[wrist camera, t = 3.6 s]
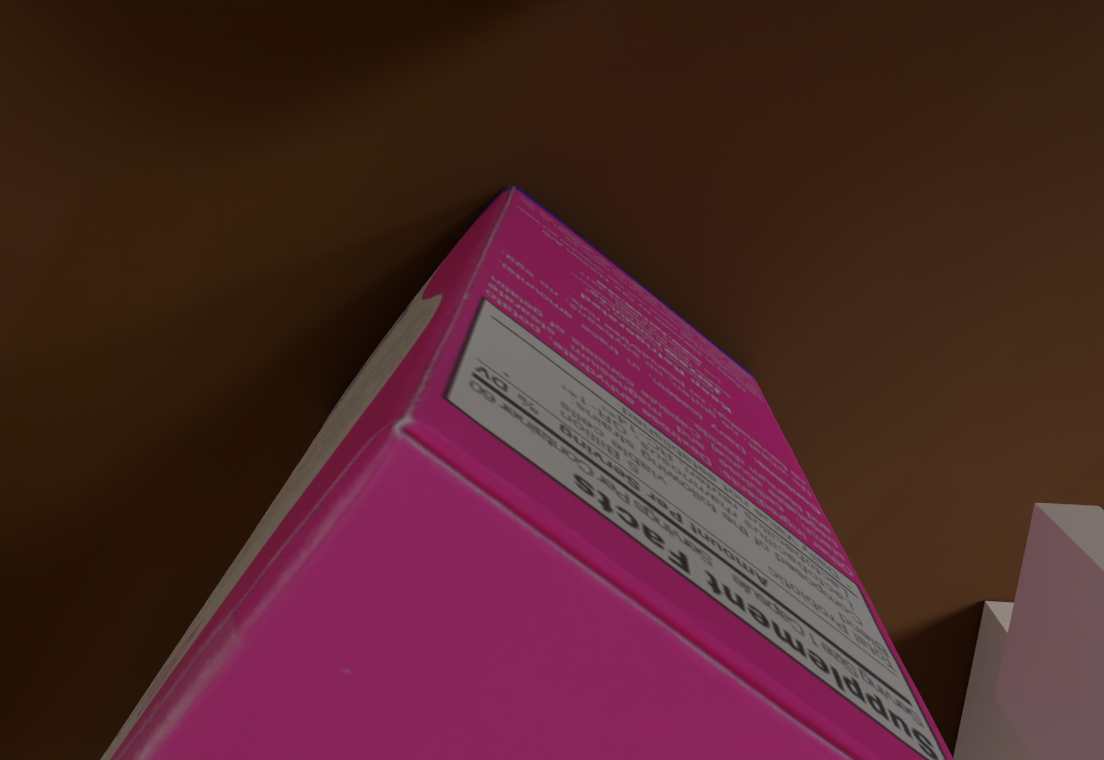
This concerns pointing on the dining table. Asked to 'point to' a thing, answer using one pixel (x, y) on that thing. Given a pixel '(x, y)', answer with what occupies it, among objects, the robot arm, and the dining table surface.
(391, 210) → the dining table surface
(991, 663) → the white shadow box frame
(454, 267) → the supplement box
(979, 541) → the dining table surface
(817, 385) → the dining table surface
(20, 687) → the dining table surface
